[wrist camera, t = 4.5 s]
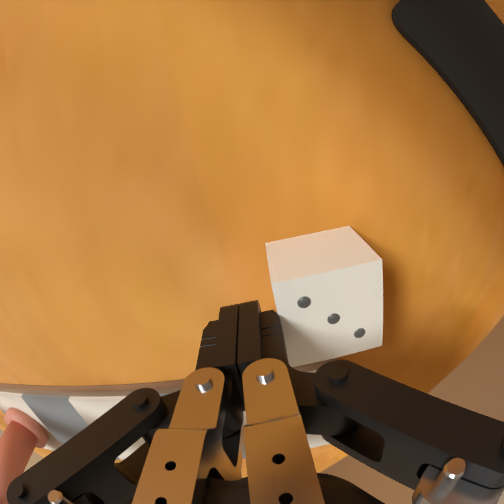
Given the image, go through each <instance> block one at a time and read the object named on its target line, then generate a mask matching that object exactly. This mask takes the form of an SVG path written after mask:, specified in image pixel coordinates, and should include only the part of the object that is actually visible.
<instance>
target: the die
mask: <svg viewBox="0 0 504 504" xmlns="http://www.w3.org/2000/svg"><path fill="white" fill-rule="evenodd" d="M265 246H266V252H267V259H268V265H269V272H270V279H271V285H272V290H273V294H274V299H275V303H276V308H277V313H278V315H279V316H280V320H281V325H282V330H283V334H284V339H285V344H286V350H287V356H288V362H289V365H290V366H291V367H296V366H301V365H306V364H311V363H315V362H320V361H324V360H329V359H333V358H337V357H341V356H345V355H349V354H353V353H357V352H361V351H364V350H368V349H372V348H375V347H379V346H382V339H383V268H382V259H381V258H380V257H379V256H378V255H377V253H376V252H375V251H374V250H373V249H372V248H371V247H370V246H369V245H368V244H367V243H366V242H365V241H364V240H363V239H362V238H361V237H360V236H359V235H358V234H357V233H356V232H355V231H354V230H353V229H352V228H351V227H350V226H345V227H340V228H335V229H331V230H326V231H321V232H316V233H311V234H306V235H301V236H297V237H292V238H287V239H282V240H277V241H272V242H268V243H265Z"/></svg>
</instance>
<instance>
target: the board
mask: <svg viewBox="0 0 504 504" xmlns="http://www.w3.org/2000/svg"><path fill="white" fill-rule="evenodd" d="M334 360H337V358H333V359H329V360H324V361H320V362H315V363H311V364H306V365H301V366H296V367H292V368H294V369H296V370H298V371H302V372H316V371H317V369H318V368H319V367H321V366H322V365H324V364H325V363H328V362H330V361H334ZM184 380H185V379H184ZM184 380H175V381H165V382H154V383H141V384H126V385H105V386H35V385H16V384H2V383H0V409H1V410H2V411H3V413H4V414H5V413H6V412H7V410H8V409H9V408H10V407H13V408H17V409H19V410H21V411H23V412H25V413H26V414H28V415H29V416H31V417H32V418H33V419H34V420H36V421H37V422H38V423H39V424H40V425H41V426H42V427H43V428H44V429H45V431H46V432H47V434H48V436H49V439H48V441H47V443H46V445H45V447H44V448H45V449H50V450H54V451H55V450H56V449H57V448H59V447H60V446H61V445H63V444H64V443H66V442H67V441H68V440H70V439H71V438H72V437H74V436H75V435H76V434H78V433H79V432H80V431H82V430H83V429H84V428H86V427H87V426H88V425H90V424H91V423H92V422H94V421H95V420H96V419H98V418H99V417H100V416H102V415H103V414H104V413H105V412H107V411H108V410H109V409H111V408H112V407H113V406H115V405H116V404H117V403H118V402H120V401H121V400H122V399H124V398H125V397H126V396H128V395H129V394H130V393H132V392H133V391H135V390H138V389H141V388H152V389H154V390H156V391H157V392H158V393H159V395H160V396H164V395H167V394H170V393H173V392H176V391H178V390H180V389H181V388H182V385H183V382H184ZM243 423H244V425H247V421H246V411H244V413H243ZM306 436H307V440H308V443H309V447H310V448H313V447H317V446H322V445H326V444H330V443H329V442H327V441H326V440H324V439H323V437H322V436H321V435H312V434H306ZM144 443H145V441H144V439H143V438H142V437H141V438H140V439H139V440H138V441H137V442H135V443H134V444H133V445H132V446H130V447H129V448H128V449H127V450H126V451H124V452H123V453H122V454H121V455H119V456H118V457H117V458H116V459H119V460H124V459H126V458H127V457H128V456H129V455H130V454H132V453H133V452H134V451H135V450H137V449H138V448H139V447H140V446H141V445H143V444H144ZM243 458H246V455H245V444H244V448H243Z"/></svg>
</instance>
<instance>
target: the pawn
mask: <svg viewBox="0 0 504 504" xmlns="http://www.w3.org/2000/svg"><path fill="white" fill-rule="evenodd" d="M4 420H5V422H6V424H7V425H8V426H7V428H6V430H5V431H4V433H3V435H2V437H1V439H0V504H9V503H8V501H7V495H6V494H7V489H8V486H9V485H10V483H11V482H12V481H13V480H14V479H15V478H17V477H18V476H20V475H21V474H22V473H23V472H24V469H25V467H26V465H27V463H28V461H29V459H30V457H31V455H32V452H33V450H34V448H35V447H38V448H44V447H45V445H46V443H47V441H48V439H49V436H48V434H47V432H46V431H45V429H44V428H43V427H42V426H41V425H40V424H39V423H38V422H37V421H36V420H34V419H33V418H32V417H31V416H29V415H28V414H26V413H25V412H23V411H21V410H19V409H17V408H13V407H10V408H9V409H8V410H7V412H6V413H5V415H4Z"/></svg>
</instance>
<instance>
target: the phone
mask: <svg viewBox="0 0 504 504" xmlns="http://www.w3.org/2000/svg"><path fill="white" fill-rule="evenodd" d="M392 20H393V23H394V25H395V27H396V29H397V30H398V31H399V32H400V34H401V35H402V36H403V37H404V38H405V39H406V40H407V41H408V42H409V43H410V44H411V45H412V46H413V47H414V48H415V49H416V50H417V51H418V52H419V53H420V54H421V55H422V56H423V57H424V58H425V59H426V60H427V62H428V63H429V64H430V65H431V66H432V67H433V68H434V69H435V70H436V72H437V73H438V74H439V75H440V76H441V77H442V79H443V80H444V81H445V82H446V83H447V84H448V86H449V87H450V88H451V89H452V91H453V92H454V93H455V94H456V96H457V97H458V98H459V99H460V101H461V102H462V103H463V105H464V106H465V107H466V109H467V110H468V111H469V113H470V114H471V116H472V117H473V118H474V120H475V121H476V123H477V124H478V126H479V127H480V129H481V130H482V131H483V133H484V135H485V136H486V138H487V139H488V141H489V142H490V144H491V145H492V147H493V149H494V150H495V152H496V154H497V155H498V157H499V159H500V160H501V162H502V164H503V165H504V25H503V23H502V22H501V21H500V19H499V18H498V17H497V15H496V14H495V13H494V12H493V10H492V9H491V8H490V7H489V6H488V4H487V3H486V2H485V1H484V0H400V1H399V2H398V3H397V4H396V5H395V7H394V8H393V11H392Z"/></svg>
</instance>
